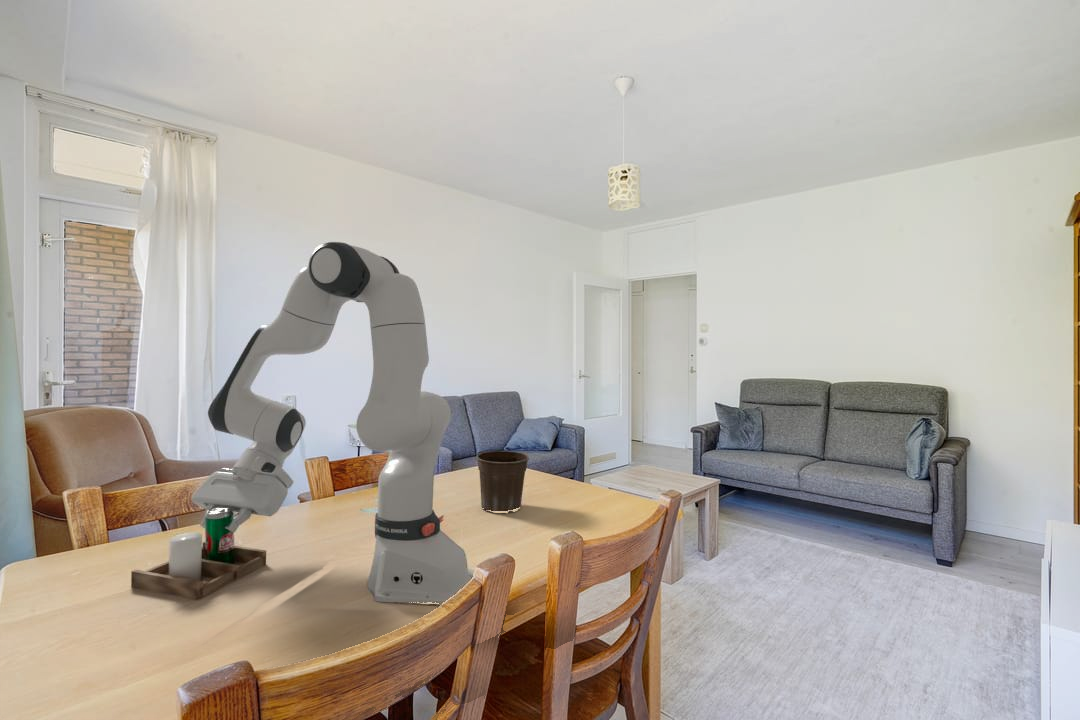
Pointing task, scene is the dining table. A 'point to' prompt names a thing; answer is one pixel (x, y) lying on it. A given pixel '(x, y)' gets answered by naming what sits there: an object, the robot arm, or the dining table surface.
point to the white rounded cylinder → (186, 556)
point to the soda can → (219, 535)
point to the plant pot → (501, 479)
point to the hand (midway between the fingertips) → (216, 529)
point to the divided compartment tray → (211, 575)
